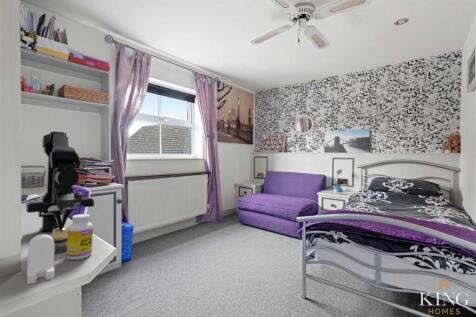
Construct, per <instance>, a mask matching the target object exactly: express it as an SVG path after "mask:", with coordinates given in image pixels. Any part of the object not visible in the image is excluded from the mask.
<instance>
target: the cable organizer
mask: <svg viewBox="0 0 476 317" xmlns="http://www.w3.org/2000/svg"><path fill="white" fill-rule="evenodd" d="M54 248H55V244H54V240H53V238H52V237H51V235H50V234H46V233H43V234H42V233H41V234H38V235H35V236H34V237H32V238H31V239H30V241H29V243H28V248H27V264H26V269H27V270H26V273H27V274H26V284H28V285H29V284H33V283H34V284H35V283H37V279H39V278H41V277H44V278H45V280H46V281H47V280H51V279H54V278H55V253H54Z"/></svg>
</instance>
